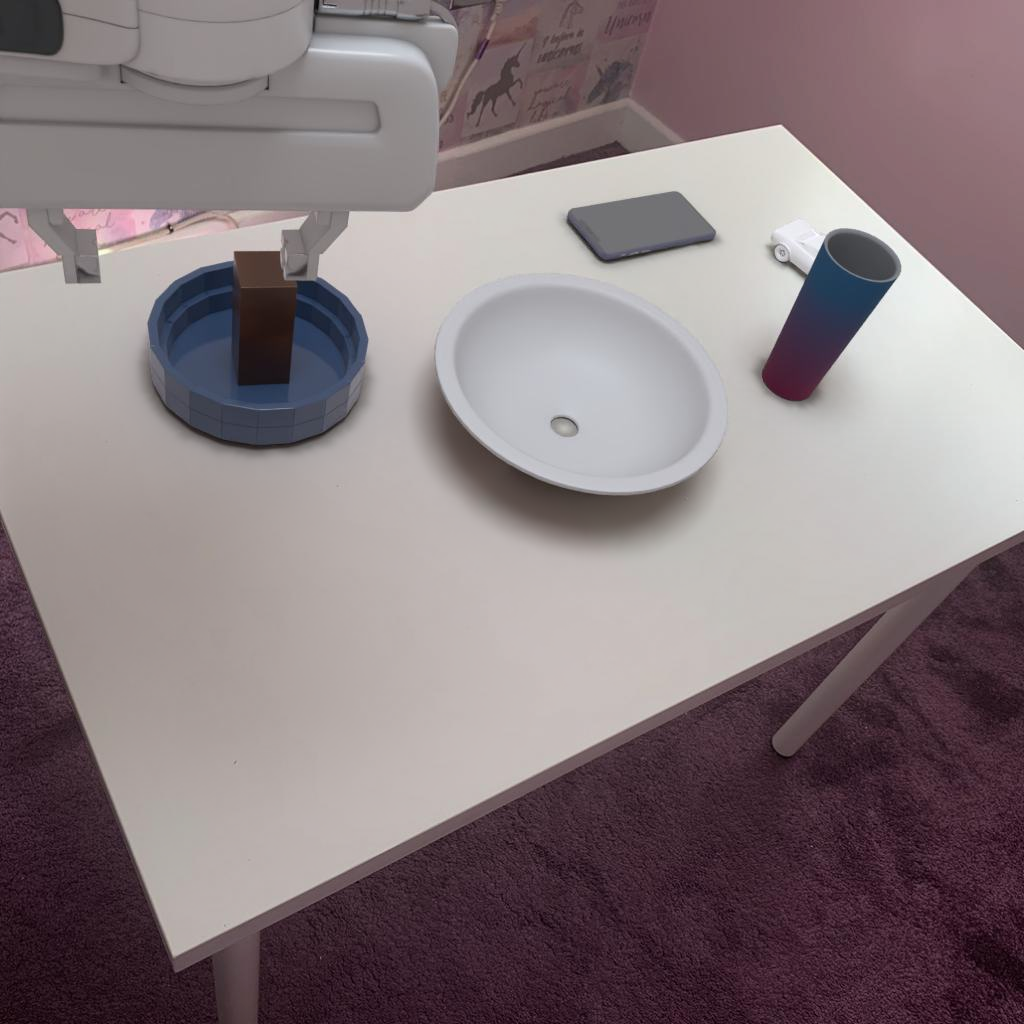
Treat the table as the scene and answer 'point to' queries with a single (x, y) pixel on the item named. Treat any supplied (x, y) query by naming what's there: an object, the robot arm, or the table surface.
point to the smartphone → (640, 224)
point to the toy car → (797, 244)
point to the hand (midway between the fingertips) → (193, 273)
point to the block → (262, 318)
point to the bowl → (211, 373)
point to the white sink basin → (581, 383)
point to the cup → (829, 310)
